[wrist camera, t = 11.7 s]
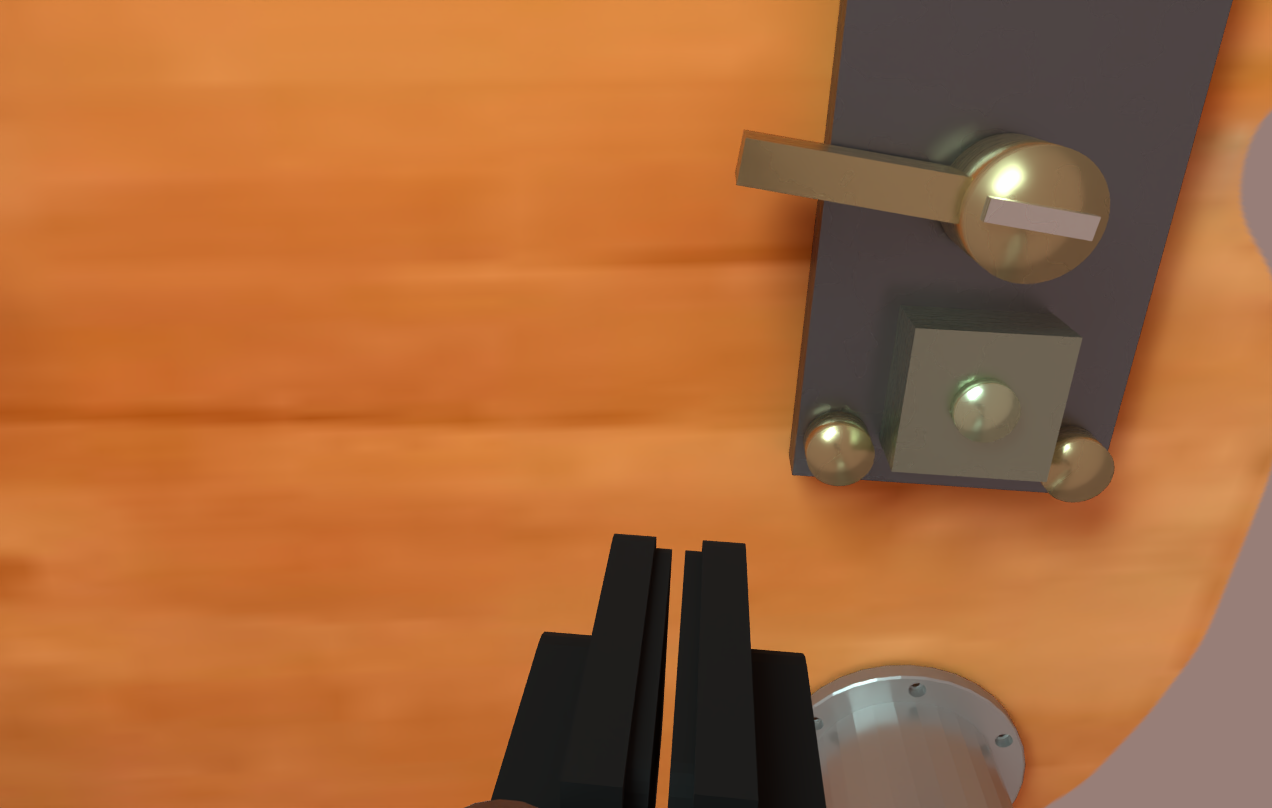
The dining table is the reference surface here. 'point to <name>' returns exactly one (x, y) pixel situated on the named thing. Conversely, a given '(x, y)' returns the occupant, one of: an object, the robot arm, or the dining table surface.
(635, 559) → the robot arm
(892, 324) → the plate
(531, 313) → the dining table surface
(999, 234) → the lever handle
